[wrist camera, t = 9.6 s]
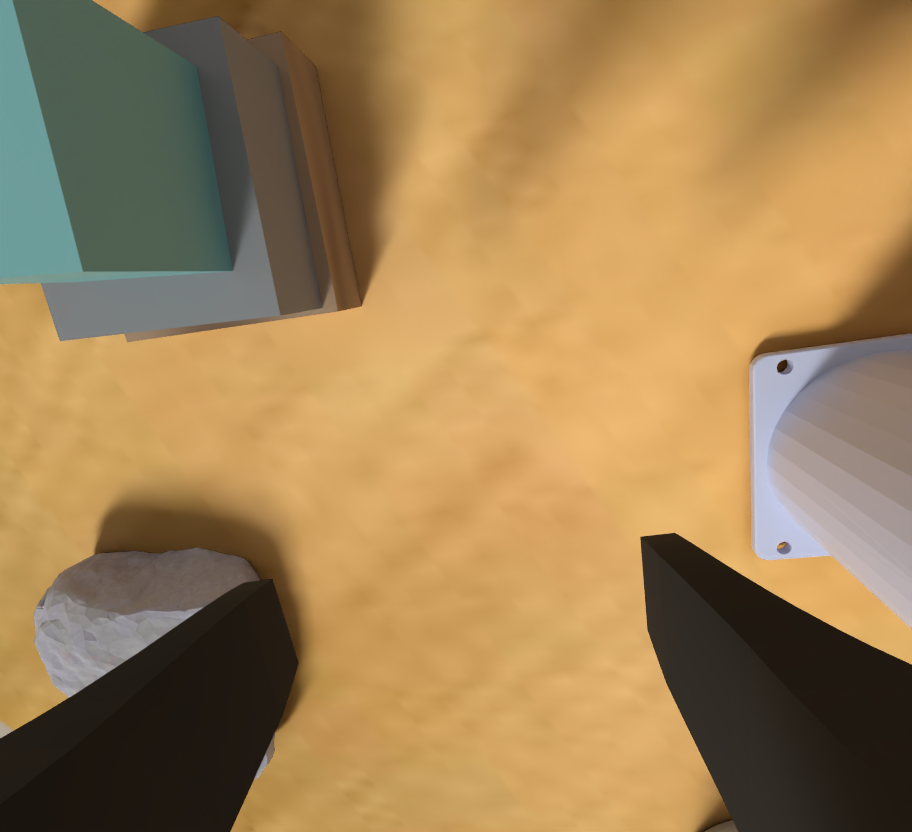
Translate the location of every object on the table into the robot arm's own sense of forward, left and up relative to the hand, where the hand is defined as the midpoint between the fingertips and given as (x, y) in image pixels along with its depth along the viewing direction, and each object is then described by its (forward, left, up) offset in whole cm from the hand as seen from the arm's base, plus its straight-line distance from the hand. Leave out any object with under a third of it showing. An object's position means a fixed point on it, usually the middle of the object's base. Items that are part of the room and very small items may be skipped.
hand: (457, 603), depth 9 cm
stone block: (+16, +10, -11) cm, 22 cm away
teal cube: (+8, -10, -5) cm, 13 cm away
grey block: (+8, -9, -8) cm, 15 cm away
